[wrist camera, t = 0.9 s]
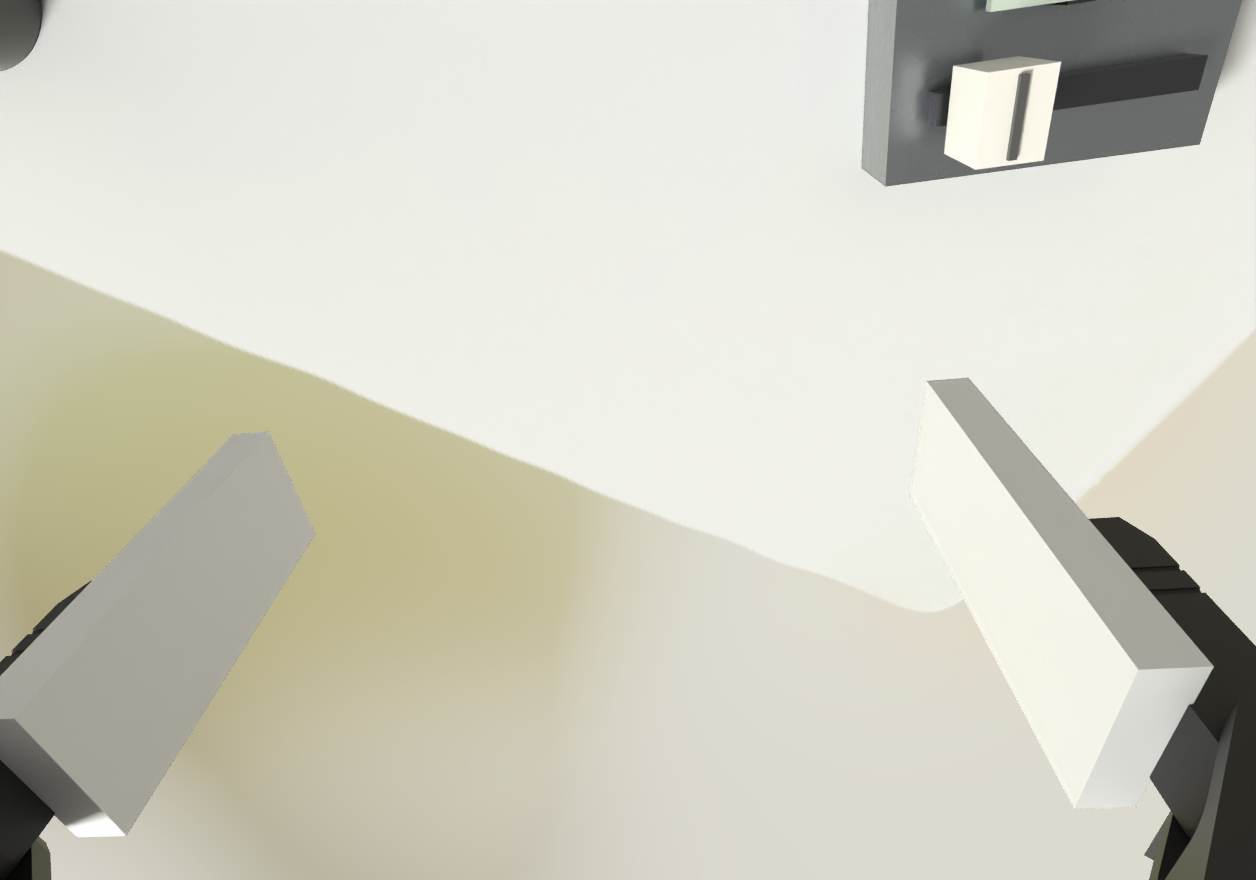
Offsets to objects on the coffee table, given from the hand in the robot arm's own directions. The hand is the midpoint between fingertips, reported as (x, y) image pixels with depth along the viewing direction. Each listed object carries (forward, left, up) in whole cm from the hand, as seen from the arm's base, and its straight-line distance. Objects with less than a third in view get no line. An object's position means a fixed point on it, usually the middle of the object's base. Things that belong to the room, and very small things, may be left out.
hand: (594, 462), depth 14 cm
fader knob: (-2, +15, -19) cm, 24 cm away
